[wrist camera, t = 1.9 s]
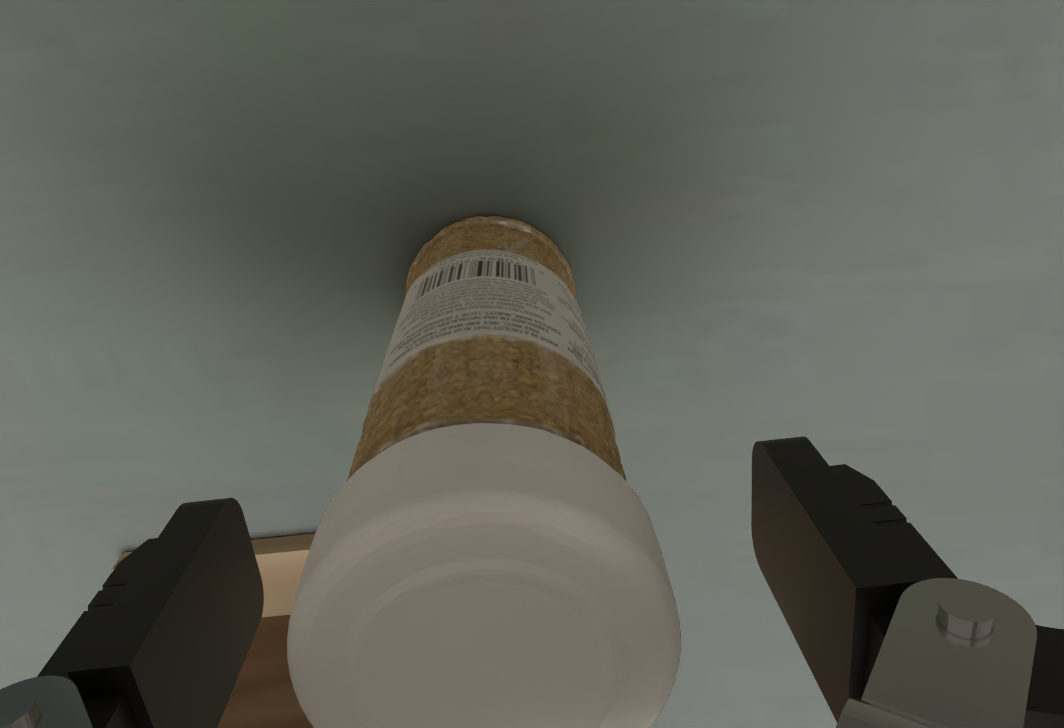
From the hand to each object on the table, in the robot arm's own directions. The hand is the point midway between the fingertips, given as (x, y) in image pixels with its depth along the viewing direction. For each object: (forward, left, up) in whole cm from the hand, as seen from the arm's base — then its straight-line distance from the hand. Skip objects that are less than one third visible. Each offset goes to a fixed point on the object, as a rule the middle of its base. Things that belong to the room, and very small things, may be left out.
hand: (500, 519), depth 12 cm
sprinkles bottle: (0, 0, -10) cm, 10 cm away
